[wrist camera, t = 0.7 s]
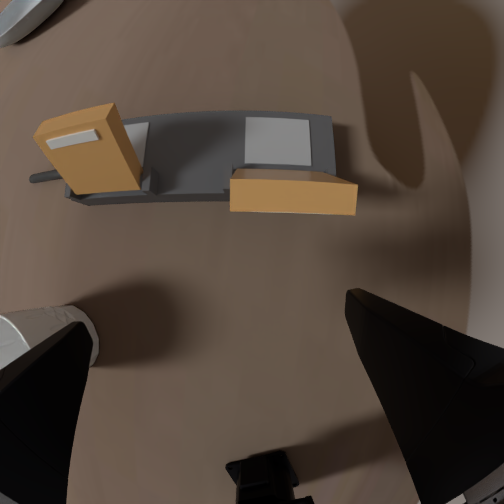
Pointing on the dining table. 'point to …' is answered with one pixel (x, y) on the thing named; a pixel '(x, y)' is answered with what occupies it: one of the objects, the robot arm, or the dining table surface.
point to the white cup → (38, 329)
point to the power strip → (214, 153)
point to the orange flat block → (291, 192)
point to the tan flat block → (91, 150)
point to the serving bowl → (24, 18)
